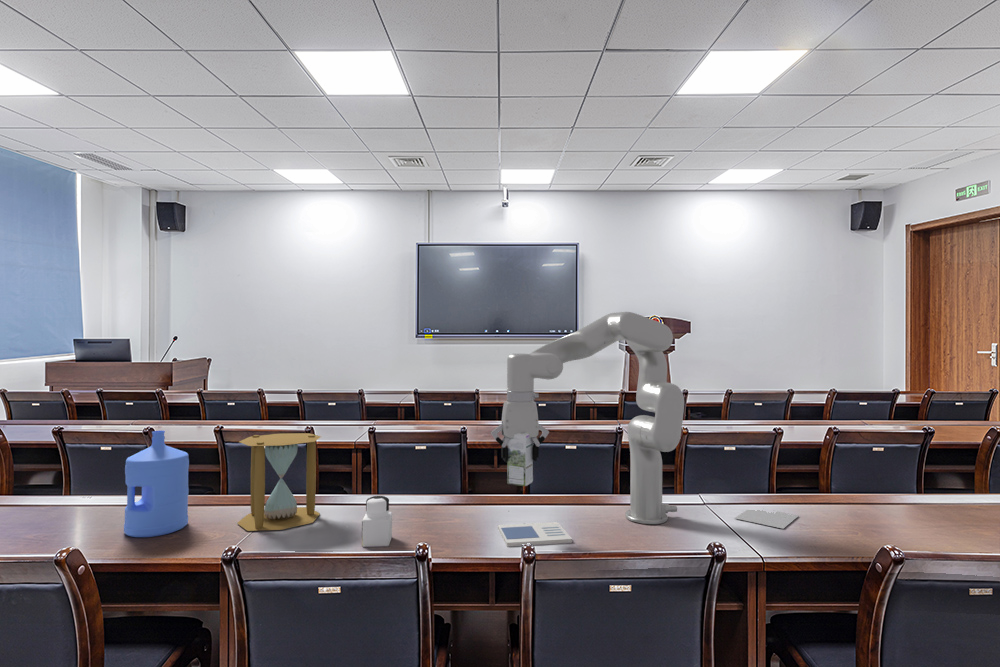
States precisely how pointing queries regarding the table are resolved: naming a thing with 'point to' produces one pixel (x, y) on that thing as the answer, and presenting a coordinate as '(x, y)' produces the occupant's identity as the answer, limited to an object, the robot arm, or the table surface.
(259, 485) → the hourglass
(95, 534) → the table surface
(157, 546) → the table surface
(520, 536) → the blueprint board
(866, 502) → the table surface
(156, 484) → the water jug
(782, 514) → the paper stack
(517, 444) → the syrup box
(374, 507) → the medicine bottle
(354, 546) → the table surface
